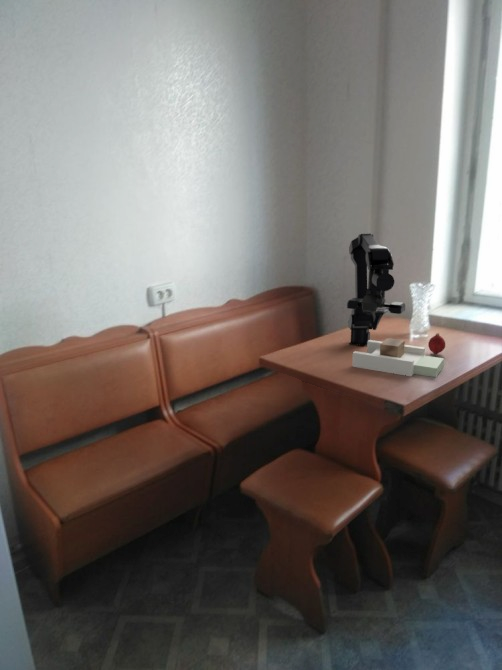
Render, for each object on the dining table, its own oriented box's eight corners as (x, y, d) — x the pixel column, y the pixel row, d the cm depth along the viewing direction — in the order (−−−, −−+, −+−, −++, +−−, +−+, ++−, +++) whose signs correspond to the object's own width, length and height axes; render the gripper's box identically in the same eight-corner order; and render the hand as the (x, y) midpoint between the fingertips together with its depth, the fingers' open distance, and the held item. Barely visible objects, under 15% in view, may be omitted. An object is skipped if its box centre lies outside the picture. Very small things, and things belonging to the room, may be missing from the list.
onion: (445, 357, 178) (447, 335, 176) (428, 356, 179) (430, 335, 177) (443, 352, 184) (444, 331, 182) (426, 351, 185) (428, 330, 183)
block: (379, 358, 170) (380, 344, 169) (386, 351, 176) (387, 338, 175) (397, 360, 167) (398, 346, 166) (403, 354, 173) (404, 340, 172)
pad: (413, 373, 163) (414, 364, 163) (421, 363, 172) (422, 355, 172) (435, 377, 160) (436, 368, 159) (443, 366, 169) (443, 358, 168)
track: (352, 366, 171) (352, 352, 170) (368, 352, 185) (369, 339, 184) (411, 376, 161) (412, 361, 160) (424, 361, 175) (425, 347, 173)
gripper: (341, 287, 166) (340, 332, 171) (397, 292, 157) (394, 339, 161) (353, 281, 176) (352, 324, 180) (407, 285, 166) (404, 330, 170)
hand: (374, 329), depth 173 cm, fingers closed
